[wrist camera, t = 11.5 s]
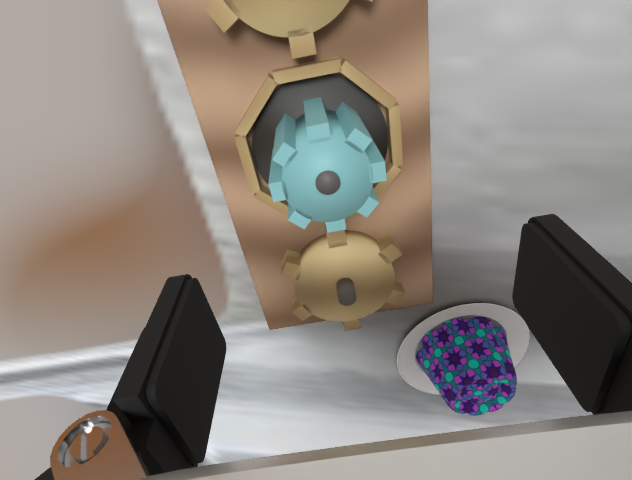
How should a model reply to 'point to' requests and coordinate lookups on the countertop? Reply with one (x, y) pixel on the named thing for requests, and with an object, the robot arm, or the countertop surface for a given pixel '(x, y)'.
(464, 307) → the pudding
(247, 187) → the gear board
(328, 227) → the loose gear
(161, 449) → the robot arm
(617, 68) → the countertop surface
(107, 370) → the countertop surface
